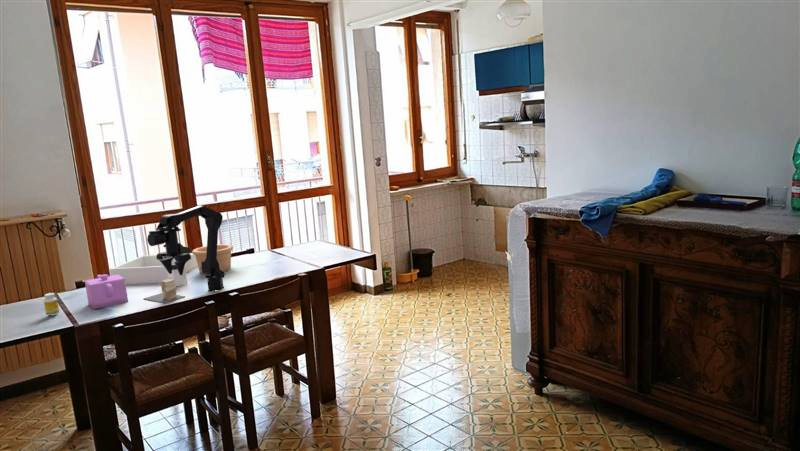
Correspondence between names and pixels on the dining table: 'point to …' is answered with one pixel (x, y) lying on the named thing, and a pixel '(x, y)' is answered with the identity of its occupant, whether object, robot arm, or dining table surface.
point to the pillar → (168, 289)
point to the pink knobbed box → (106, 291)
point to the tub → (147, 269)
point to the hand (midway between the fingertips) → (175, 274)
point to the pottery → (222, 256)
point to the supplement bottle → (51, 304)
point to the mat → (161, 298)
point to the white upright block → (177, 276)
